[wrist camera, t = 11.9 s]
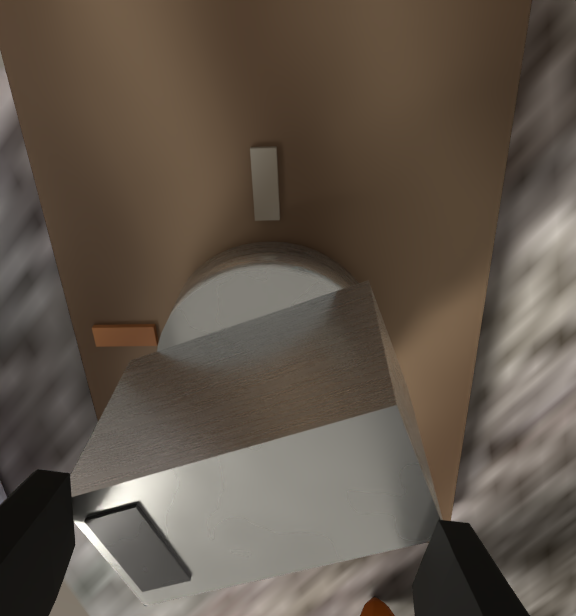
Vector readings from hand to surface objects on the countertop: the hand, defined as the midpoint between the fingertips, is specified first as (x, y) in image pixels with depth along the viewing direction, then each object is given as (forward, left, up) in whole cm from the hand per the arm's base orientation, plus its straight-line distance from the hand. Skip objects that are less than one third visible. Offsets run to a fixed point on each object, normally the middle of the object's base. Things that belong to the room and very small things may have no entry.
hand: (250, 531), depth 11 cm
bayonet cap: (0, 0, -8) cm, 8 cm away
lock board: (0, 0, -9) cm, 9 cm away
